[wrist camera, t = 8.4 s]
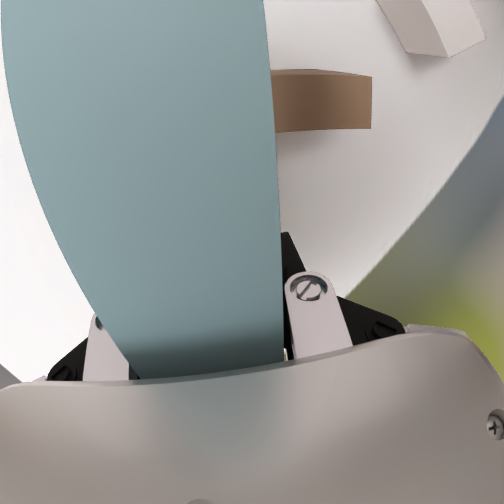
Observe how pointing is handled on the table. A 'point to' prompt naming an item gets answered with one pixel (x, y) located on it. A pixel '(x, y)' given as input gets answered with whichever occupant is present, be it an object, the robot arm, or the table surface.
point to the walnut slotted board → (320, 100)
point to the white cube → (434, 25)
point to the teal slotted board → (157, 170)
